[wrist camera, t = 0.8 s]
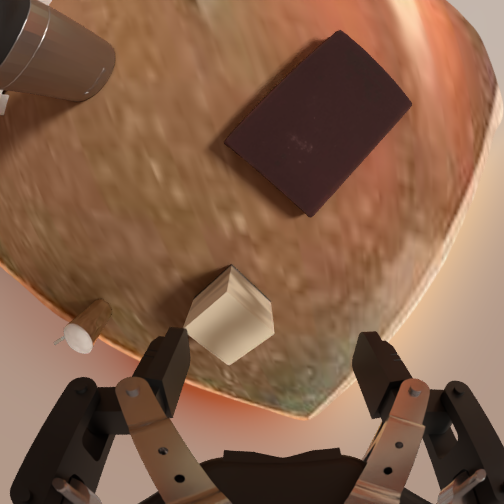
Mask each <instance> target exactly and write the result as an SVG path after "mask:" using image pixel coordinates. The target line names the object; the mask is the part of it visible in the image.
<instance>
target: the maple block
mask: <svg viewBox="0 0 504 504" xmlns="http://www.w3.org/2000/svg"><path fill="white" fill-rule="evenodd" d="M183 328H186V329H187V333H188V335H189V336H190V337H192V338H193V339H194V340H196V341H197V342H198V343H199V344H201V345H202V346H203V347H204V348H206V349H207V350H208V351H210V352H211V353H212V354H214V355H215V356H216V357H218V358H219V359H220V360H222V361H223V362H225V363H226V364H227V365H230V364H232V363H233V362H235V361H236V360H238V359H239V358H241V357H242V356H244V355H245V354H246V353H248V352H249V351H251V350H252V349H254V348H255V347H256V346H258V345H259V344H261V343H262V342H264V341H265V340H266V339H268V338H269V337H270V336H272V335H273V334H275V333H274V325H273V316H272V308H271V301H270V300H269V299H268V298H267V297H266V296H265V295H264V294H263V293H262V292H260V291H259V290H258V289H257V288H256V287H255V286H254V285H253V284H252V283H251V282H250V281H249V280H248V279H247V278H246V277H245V276H244V275H242V274H241V273H240V272H239V271H238V270H237V269H236V268H235V267H234V266H233V265H230V266H229V267H228V268H227V269H226V270H225V271H224V272H223V273H222V274H220V275H219V276H218V277H217V278H216V279H215V280H214V281H213V282H212V283H210V284H209V285H208V286H207V287H206V288H205V289H204V290H203V291H202V292H200V293H199V294H198V295H197V296H196V297H195V298H194V299H193V302H192V305H191V307H190V310H189V313H188V315H187V318H186V321H185V324H184V326H183Z"/></svg>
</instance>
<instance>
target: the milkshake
mask: <svg viewBox="0 0 504 504" xmlns="http://www.w3.org/2000/svg"><path fill="white" fill-rule="evenodd" d="M111 315H112V308H111V306H110V304H109V303H108V302H106V301H105V300H104V299H97V300H96V301H95V302H94V303H93V304H91V305H90V306H89V307H88V308H87V309H86V310H85V311H83V312H82V313H81V314H80V315H78V316H77V317H76V318H75V319H73V320H72V321H71V322H70V323H69V324H67V325H66V327H65V328H64V336H63V337H61V338H60V339H58V340H56V341H55V342H54V345H56V344H58V343H59V342H61V341H62V340H64V339H66V341H67V343H68V345H69V346H70V347H71V348H72V349H73V350H75V351H77V352H79V353H83V354H87V353H89V352H90V351H91V350H92V348H93V346H94V344H95V342H96V341H97V339H98V337H99V335H100V333H101V332H102V330H103V328H104V327H105V325H106V323H107V322H108V320H109V318H110V317H111Z"/></svg>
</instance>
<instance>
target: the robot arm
mask: <svg viewBox="0 0 504 504" xmlns="http://www.w3.org/2000/svg"><path fill="white" fill-rule="evenodd" d="M114 63H115V52H114V49H113V47H112V46H111V45H110V44H109V43H108V42H106V41H105V40H103V39H102V38H101V37H99V36H98V35H96V34H95V33H93V32H92V31H90V30H88V29H87V28H85V27H84V26H82V25H80V24H79V23H77V22H76V21H74V20H72V19H71V18H69V17H67V16H66V15H64V14H62V13H60V12H59V11H57V10H55V9H53V8H52V7H50V6H48V5H46V4H44V3H42V2H40V1H38V0H0V90H7V91H15V92H23V93H30V94H36V95H42V96H48V97H53V98H58V99H64V100H69V101H74V102H79V101H83V100H86V99H88V98H90V97H92V96H93V95H95V94H96V93H97V92H98V91H99V90H100V89H101V88H102V87H103V86H104V85H105V83H106V82H107V80H108V79H109V77H110V75H111V73H112V70H113V68H114ZM189 366H190V349H189V341H188V333H187V329H186V328H176V327H170V328H169V330H168V332H167V333H166V335H165V337H161V336H159V337H157V338H156V339H155V340H153V341H152V342H151V343H150V345H149V347H148V349H147V351H146V352H145V354H144V357H142V359H141V361H140V363H139V365H138V366H137V368H136V370H135V372H134V374H133V376H132V377H128V378H125V379H123V380H121V381H120V382H119V383H118V384H117V386H116V387H97V386H96V383H95V382H94V381H93V380H92V379H90V378H87V377H81V378H76V379H74V380H72V381H71V382H70V383H69V384H68V385H67V387H66V389H65V390H64V392H63V393H62V395H61V396H60V398H59V399H58V401H57V403H56V404H55V406H54V408H53V409H52V411H51V412H50V414H49V416H48V417H47V419H46V421H45V423H44V424H43V426H42V428H41V429H40V431H39V433H38V435H37V437H36V438H35V440H34V442H33V444H32V446H31V448H30V449H29V451H28V453H27V455H26V457H25V459H24V461H23V463H22V465H21V467H20V469H19V471H18V473H17V475H16V477H15V479H14V481H13V484H12V486H11V489H10V497H11V500H12V502H13V504H102V502H101V500H100V499H99V497H98V496H97V495H96V494H95V492H96V488H97V486H98V482H99V480H100V477H101V474H102V471H103V468H104V465H105V462H106V459H107V456H108V454H109V451H110V448H111V446H112V443H113V440H114V437H115V435H116V434H117V435H119V434H122V435H123V434H124V435H125V434H126V435H127V434H130V435H131V437H132V439H133V442H134V444H135V446H136V448H137V451H138V453H139V455H140V457H141V459H142V461H143V463H144V465H145V467H146V469H147V471H148V473H149V475H150V477H151V479H152V481H153V483H154V484H155V486H156V488H157V489H158V492H156V493H155V494H153V495H151V496H150V497H149V498H147V499H145V500H143V501H142V502H140V503H139V504H432V503H430V502H428V501H426V500H425V499H423V498H421V497H419V496H418V495H416V494H414V493H413V492H411V491H409V490H408V489H406V488H404V486H405V484H406V481H407V479H408V477H409V474H410V472H411V469H412V466H413V464H414V461H415V458H416V455H417V452H418V449H419V446H420V443H421V440H422V438H423V440H424V443H425V445H426V448H427V451H428V454H429V457H430V459H431V462H432V464H433V468H434V471H435V474H436V477H437V480H438V483H439V486H440V489H441V492H440V493H439V496H438V502H437V503H436V504H504V447H503V445H502V443H501V441H500V439H499V437H498V435H497V434H496V432H495V430H494V428H493V426H492V425H491V423H490V421H489V419H488V418H487V416H486V414H485V413H484V411H483V409H482V408H481V406H480V404H479V403H478V401H477V399H476V398H475V396H474V395H473V393H472V392H471V390H470V389H469V387H468V386H467V385H466V384H464V383H463V382H460V381H451V382H449V383H448V384H447V386H446V387H445V389H444V390H432V389H429V387H428V385H427V384H426V383H425V382H423V381H421V380H419V379H413V378H412V376H411V375H410V373H409V371H408V370H407V368H406V366H405V365H404V363H403V362H402V361H401V358H400V357H399V356H398V355H397V352H396V350H395V349H394V347H393V346H392V345H390V344H389V343H388V342H386V341H382V340H381V338H380V336H379V335H378V333H377V332H376V331H373V332H361V333H360V334H359V337H358V341H357V344H356V348H355V352H354V355H353V359H352V367H353V371H354V373H355V376H356V378H357V381H358V384H359V386H360V389H361V391H362V394H363V396H364V399H365V402H366V404H367V407H368V410H369V412H370V415H371V418H372V419H375V418H380V417H381V419H382V422H381V424H380V426H379V428H378V430H377V432H376V434H375V436H374V438H373V440H372V442H371V444H370V446H369V448H368V450H367V451H366V453H365V455H364V457H363V458H362V460H360V459H358V458H355V457H351V456H346V455H341V453H340V449H339V448H332V449H323V450H313V451H309V452H305V453H302V454H298V455H294V456H291V457H285V458H280V457H275V456H270V455H265V454H261V453H256V452H244V451H229V450H224V455H223V457H221V458H215V459H211V460H208V461H204V462H202V463H200V464H199V463H198V462H197V460H196V459H195V457H194V456H193V455H192V453H191V452H190V450H189V449H188V447H187V445H186V444H185V442H184V441H183V439H182V438H181V436H180V435H179V433H178V431H177V430H176V428H175V426H174V425H173V423H172V422H171V420H170V418H173V415H174V412H175V409H176V406H177V403H178V400H179V396H180V393H181V390H182V387H183V384H184V381H185V378H186V375H187V372H188V369H189ZM452 423H453V425H454V427H455V429H456V431H457V434H458V441H457V440H456V438H455V436H454V434H453V432H452V430H451V427H450V426H451V425H452Z"/></svg>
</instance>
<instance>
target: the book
mask: <svg viewBox="0 0 504 504" xmlns="http://www.w3.org/2000/svg"><path fill="white" fill-rule="evenodd" d="M411 106H412V103H411V101H410V100H409V98H408V97H407V96H406V95H405V93H404V92H403V91H402V90H401V88H400V87H399V86H398V85H397V84H396V82H395V81H394V80H393V79H392V78H391V77H390V76H389V75H388V73H387V72H386V71H385V70H384V69H383V68H382V67H381V66H380V65H379V64H378V63H377V62H376V61H375V60H374V59H373V58H372V57H371V56H370V55H369V54H368V53H367V52H366V51H365V50H364V49H363V48H362V47H361V46H360V45H358V44H357V43H356V42H355V41H354V40H352V39H351V38H350V37H349V36H348V35H347V34H345V33H344V32H343V31H341V30H339V31H336V32H335V33H334V34H333V35H332V36H331V37H329V38H328V39H327V40H326V41H325V42H323V43H322V44H321V45H320V46H319V47H318V48H317V49H316V50H314V51H313V52H312V53H311V54H310V55H309V56H308V57H307V58H305V59H304V60H303V61H302V62H301V63H300V64H299V65H298V66H297V67H296V68H294V69H293V70H292V71H291V72H290V73H289V74H288V75H287V76H286V77H285V78H284V79H283V80H282V81H281V82H280V83H279V84H278V85H277V86H276V87H275V88H274V89H273V90H272V91H271V92H270V93H269V94H268V95H267V96H266V97H265V98H264V99H263V100H262V101H261V102H260V103H259V104H258V105H257V106H256V107H255V108H254V109H253V110H252V111H251V112H250V114H249V115H248V116H247V117H246V118H245V119H244V120H243V121H242V122H241V123H240V124H239V125H238V126H237V127H236V128H235V129H234V130H233V132H232V133H231V134H230V135H229V136H228V137H227V139H226V140H225V142H224V144H226V145H227V146H228V147H230V148H231V149H232V150H233V151H235V152H236V153H237V154H238V155H239V156H241V157H242V158H243V159H245V160H246V161H247V162H248V163H249V164H250V165H251V166H253V167H254V168H255V169H256V170H257V171H258V172H260V173H261V174H262V175H263V176H264V177H265V178H267V179H268V180H269V181H270V182H271V183H272V184H273V185H275V186H276V187H277V188H278V189H279V190H280V191H281V192H282V193H284V194H285V195H286V196H287V197H288V198H289V199H290V200H291V201H293V202H294V203H295V204H296V205H297V206H298V207H299V208H300V209H301V210H302V211H304V212H305V214H306V215H307V216H308V217H312V216H314V215H315V213H316V212H317V211H318V210H319V209H320V208H321V207H322V206H323V205H324V204H325V202H326V201H327V200H328V199H329V198H330V197H331V196H332V195H333V194H334V193H335V192H336V190H337V189H338V188H339V187H340V186H341V185H342V184H343V183H344V181H345V180H346V179H347V178H348V177H349V176H350V175H351V174H352V172H353V171H354V170H355V169H356V168H357V167H358V166H359V165H360V164H361V162H362V161H363V160H364V159H365V158H366V157H367V156H368V155H369V154H370V152H371V151H372V150H373V149H374V148H375V147H376V146H377V144H378V143H379V142H380V141H381V140H382V139H383V138H384V137H385V136H386V134H387V133H388V132H389V131H390V130H391V129H392V128H393V127H394V125H395V124H396V123H397V122H398V121H399V120H400V119H401V118H402V117H403V115H404V114H405V113H406V112H407V111H408V110H409V109H410V107H411Z"/></svg>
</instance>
